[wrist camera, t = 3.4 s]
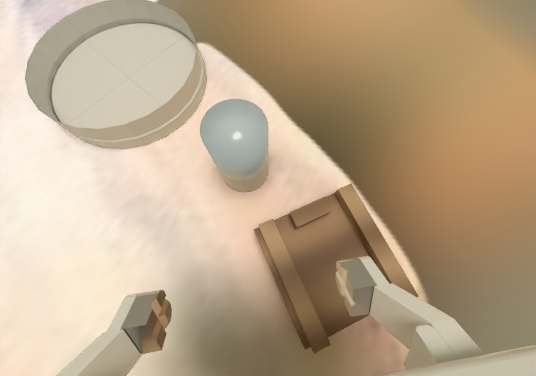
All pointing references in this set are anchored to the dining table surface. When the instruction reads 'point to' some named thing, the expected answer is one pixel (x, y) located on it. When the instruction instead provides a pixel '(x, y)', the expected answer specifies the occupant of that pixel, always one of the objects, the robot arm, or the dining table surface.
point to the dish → (118, 73)
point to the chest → (324, 261)
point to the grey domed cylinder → (237, 142)
